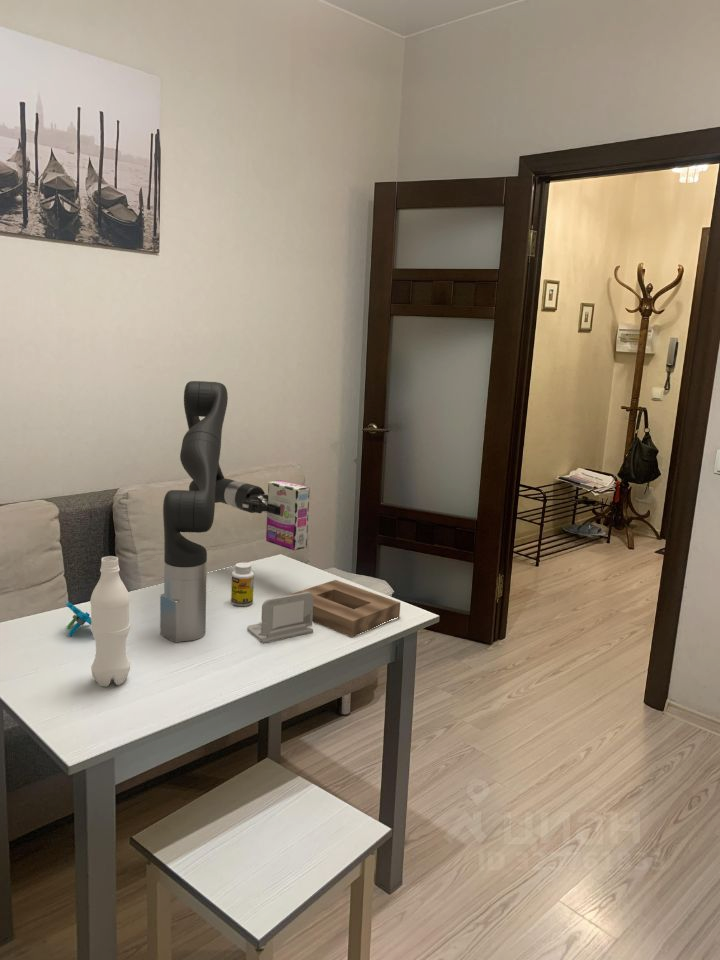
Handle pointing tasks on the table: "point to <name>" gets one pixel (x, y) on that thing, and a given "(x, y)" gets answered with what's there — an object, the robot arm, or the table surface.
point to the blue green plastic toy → (77, 618)
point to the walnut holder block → (350, 607)
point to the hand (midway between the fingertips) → (286, 509)
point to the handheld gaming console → (284, 618)
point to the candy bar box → (288, 515)
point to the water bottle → (110, 625)
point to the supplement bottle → (242, 585)
